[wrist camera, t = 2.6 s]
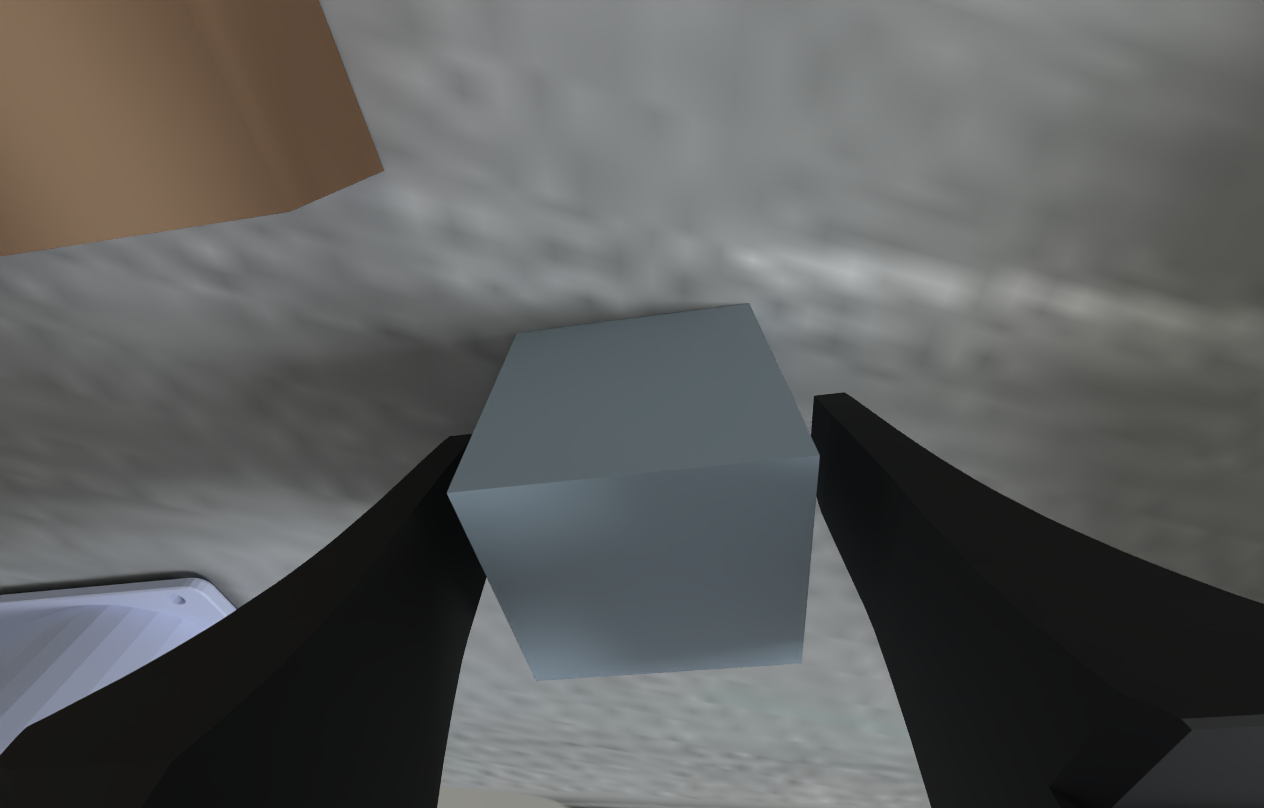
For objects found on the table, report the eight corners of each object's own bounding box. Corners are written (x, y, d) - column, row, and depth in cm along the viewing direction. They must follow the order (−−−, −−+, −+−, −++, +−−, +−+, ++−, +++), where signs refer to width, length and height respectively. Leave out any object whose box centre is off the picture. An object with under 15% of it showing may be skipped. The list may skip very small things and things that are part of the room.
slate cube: (565, 495, 14) (536, 681, 10) (517, 330, 11) (447, 493, 7) (750, 477, 13) (801, 663, 9) (748, 301, 11) (819, 455, 6)
